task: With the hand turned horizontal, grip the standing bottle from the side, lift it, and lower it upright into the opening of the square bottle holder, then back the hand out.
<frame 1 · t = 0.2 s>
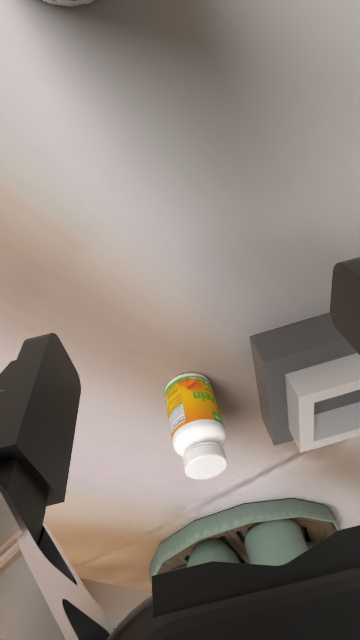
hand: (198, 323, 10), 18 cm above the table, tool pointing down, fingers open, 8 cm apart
square bottle holder: (313, 365, 39), on the table
tea set: (243, 542, 71), on the table
supplement bottle: (187, 386, 38), on the table
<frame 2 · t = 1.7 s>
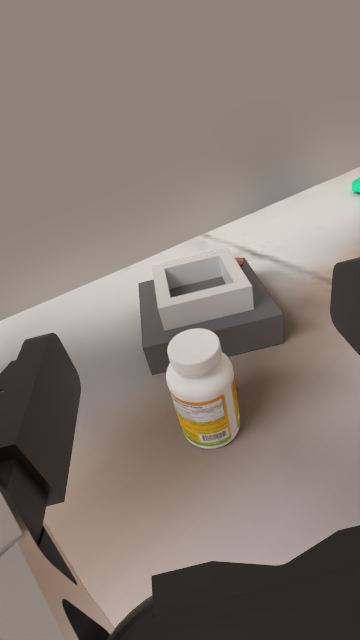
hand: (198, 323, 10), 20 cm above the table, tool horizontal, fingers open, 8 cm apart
square bottle holder: (205, 322, 42), on the table
supplement bottle: (211, 425, 30), on the table
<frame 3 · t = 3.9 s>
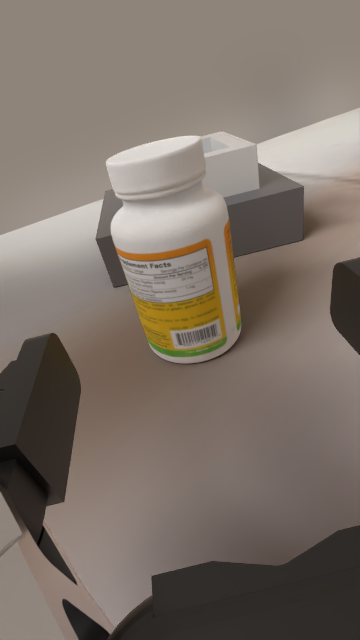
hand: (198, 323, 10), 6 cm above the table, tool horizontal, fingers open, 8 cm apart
square bottle holder: (192, 232, 31), on the table
supplement bottle: (195, 336, 19), on the table
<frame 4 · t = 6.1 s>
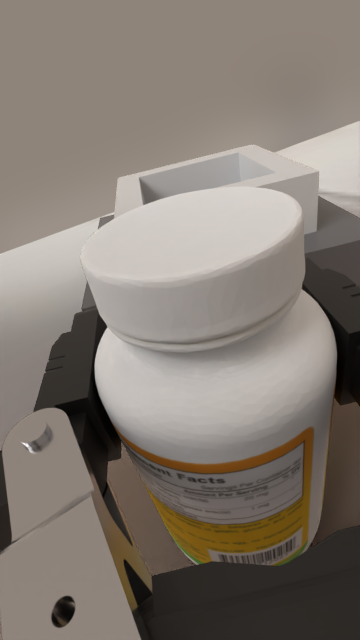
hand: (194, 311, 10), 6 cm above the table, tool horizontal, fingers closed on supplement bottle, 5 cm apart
square bottle holder: (213, 277, 24), on the table
supplement bottle: (238, 493, 12), on the table, touching gripper
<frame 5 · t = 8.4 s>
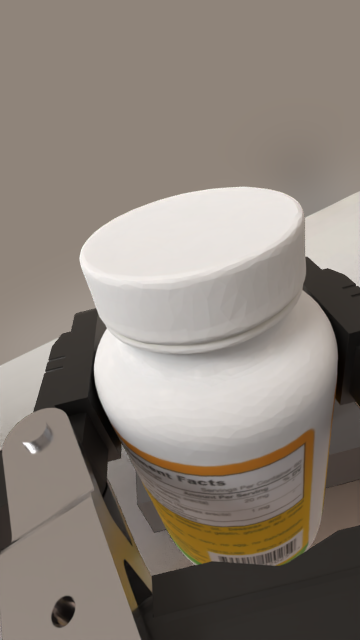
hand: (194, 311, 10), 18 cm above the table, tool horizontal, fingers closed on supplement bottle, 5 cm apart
square bottle holder: (234, 418, 27), on the table
supplement bottle: (238, 494, 12), point 11 cm above the table, touching gripper
when the fingers open (12 cm above the table, at t = 10.9 s): supplement bottle drops 2 cm, resting on square bottle holder.
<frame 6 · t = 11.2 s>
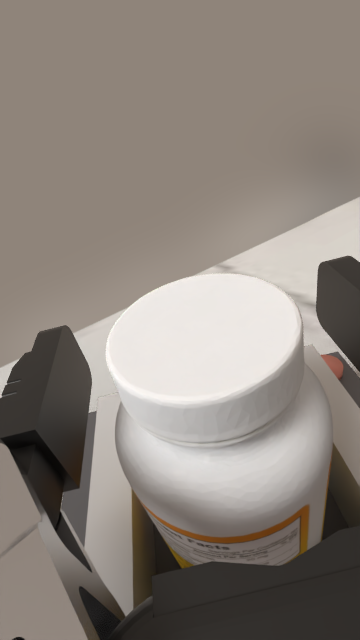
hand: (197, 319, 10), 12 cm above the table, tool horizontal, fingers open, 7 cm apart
square bottle holder: (250, 555, 15), on the table
supplement bottle: (243, 525, 13), point 4 cm above the table, touching square bottle holder
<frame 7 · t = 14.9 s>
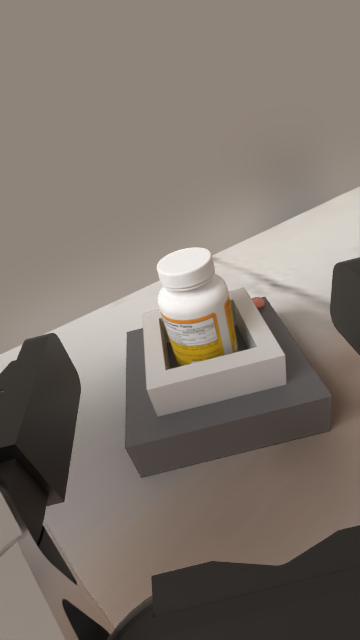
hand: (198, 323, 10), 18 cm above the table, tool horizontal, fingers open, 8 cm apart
square bottle holder: (215, 388, 31), on the table
supplement bottle: (208, 361, 29), point 4 cm above the table, touching square bottle holder
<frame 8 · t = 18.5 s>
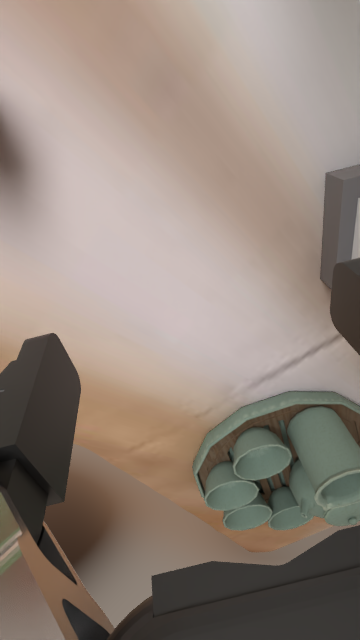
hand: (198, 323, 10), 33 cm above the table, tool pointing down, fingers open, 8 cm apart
tea set: (279, 449, 74), on the table
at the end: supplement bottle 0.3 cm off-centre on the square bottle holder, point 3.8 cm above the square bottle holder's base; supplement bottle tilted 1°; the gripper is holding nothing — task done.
